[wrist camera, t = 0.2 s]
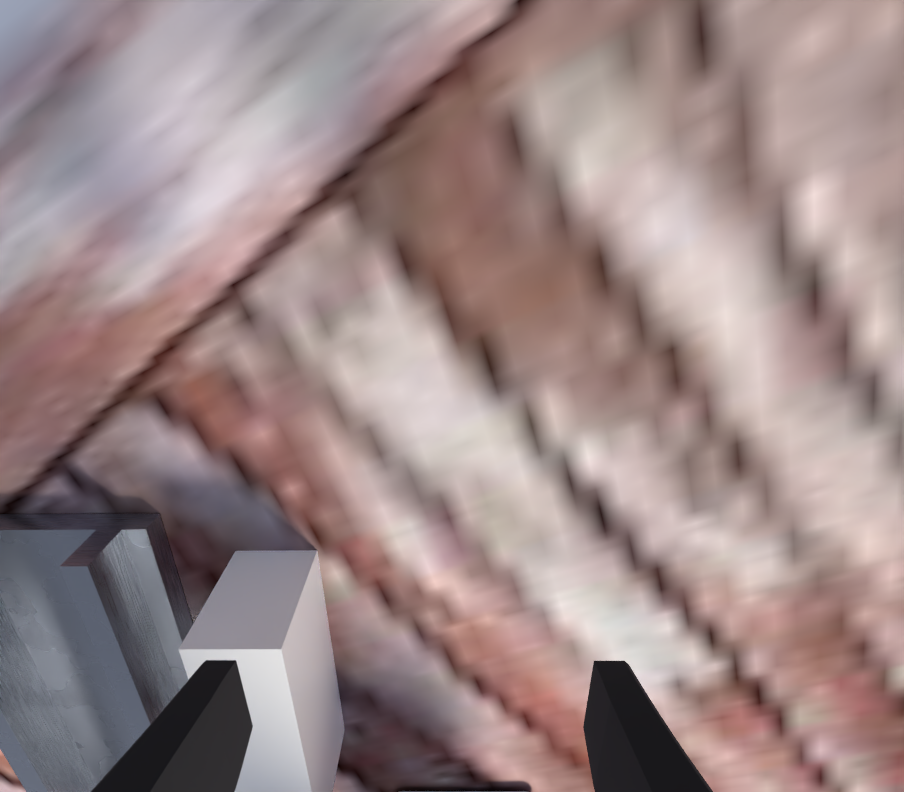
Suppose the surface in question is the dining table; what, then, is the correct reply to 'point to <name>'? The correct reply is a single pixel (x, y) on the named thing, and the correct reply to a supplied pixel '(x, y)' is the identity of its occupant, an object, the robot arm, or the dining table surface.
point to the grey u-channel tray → (84, 642)
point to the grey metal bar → (276, 666)
